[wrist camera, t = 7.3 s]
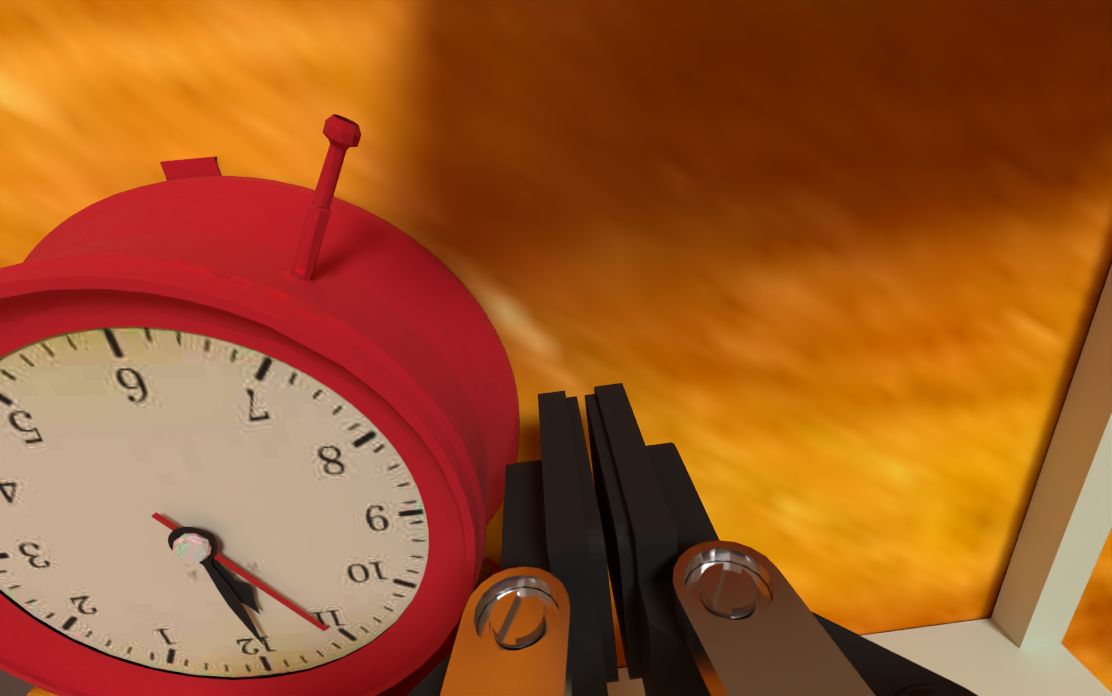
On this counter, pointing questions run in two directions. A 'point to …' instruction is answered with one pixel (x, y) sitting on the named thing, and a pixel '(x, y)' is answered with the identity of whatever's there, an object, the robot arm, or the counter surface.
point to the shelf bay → (1032, 558)
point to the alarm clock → (242, 444)
